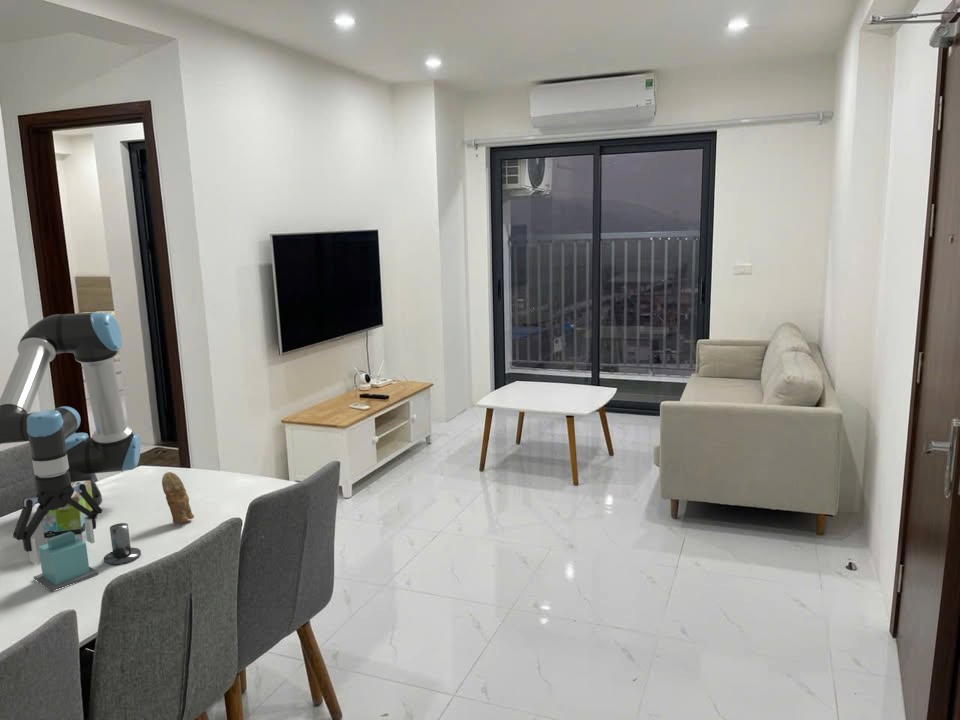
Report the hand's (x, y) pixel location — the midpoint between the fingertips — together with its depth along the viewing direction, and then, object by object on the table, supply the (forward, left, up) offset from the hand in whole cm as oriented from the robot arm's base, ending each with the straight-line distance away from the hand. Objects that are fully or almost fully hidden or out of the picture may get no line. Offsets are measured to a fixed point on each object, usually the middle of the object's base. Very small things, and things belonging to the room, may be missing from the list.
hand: (63, 551), depth 180 cm
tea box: (-25, +12, -7) cm, 28 cm away
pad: (0, 0, -7) cm, 7 cm away
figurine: (-9, +37, -7) cm, 39 cm away
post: (+1, +14, -7) cm, 15 cm away
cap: (0, 0, -6) cm, 6 cm away
